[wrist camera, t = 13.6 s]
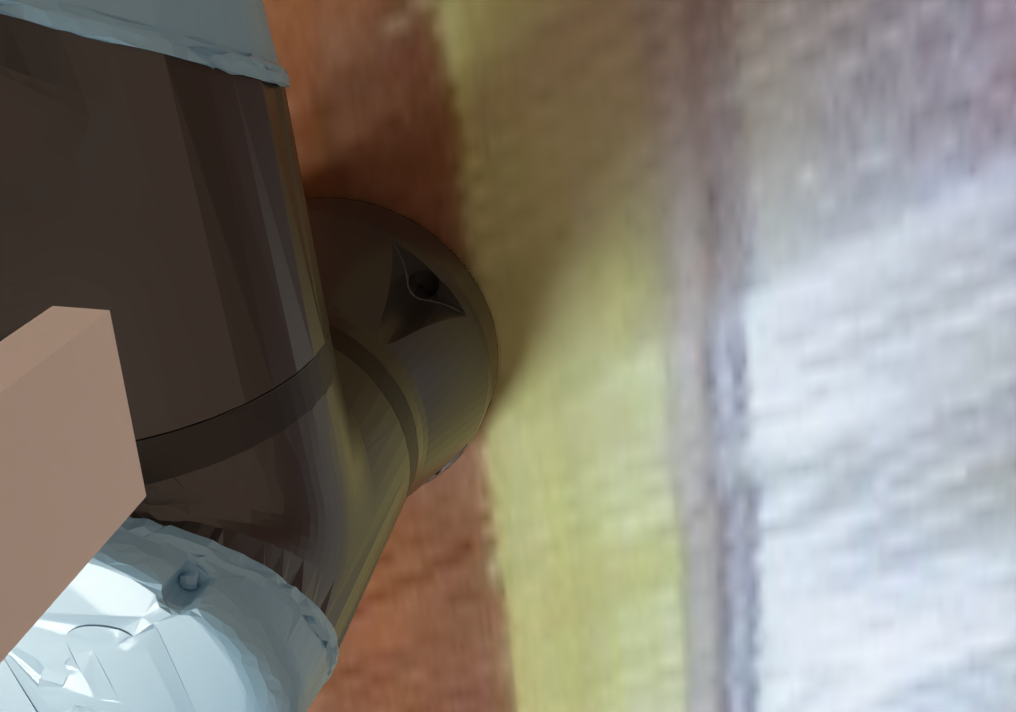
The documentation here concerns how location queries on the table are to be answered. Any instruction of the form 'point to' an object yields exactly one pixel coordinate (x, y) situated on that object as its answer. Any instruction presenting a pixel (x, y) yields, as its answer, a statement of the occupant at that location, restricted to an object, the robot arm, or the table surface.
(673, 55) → the table surface
